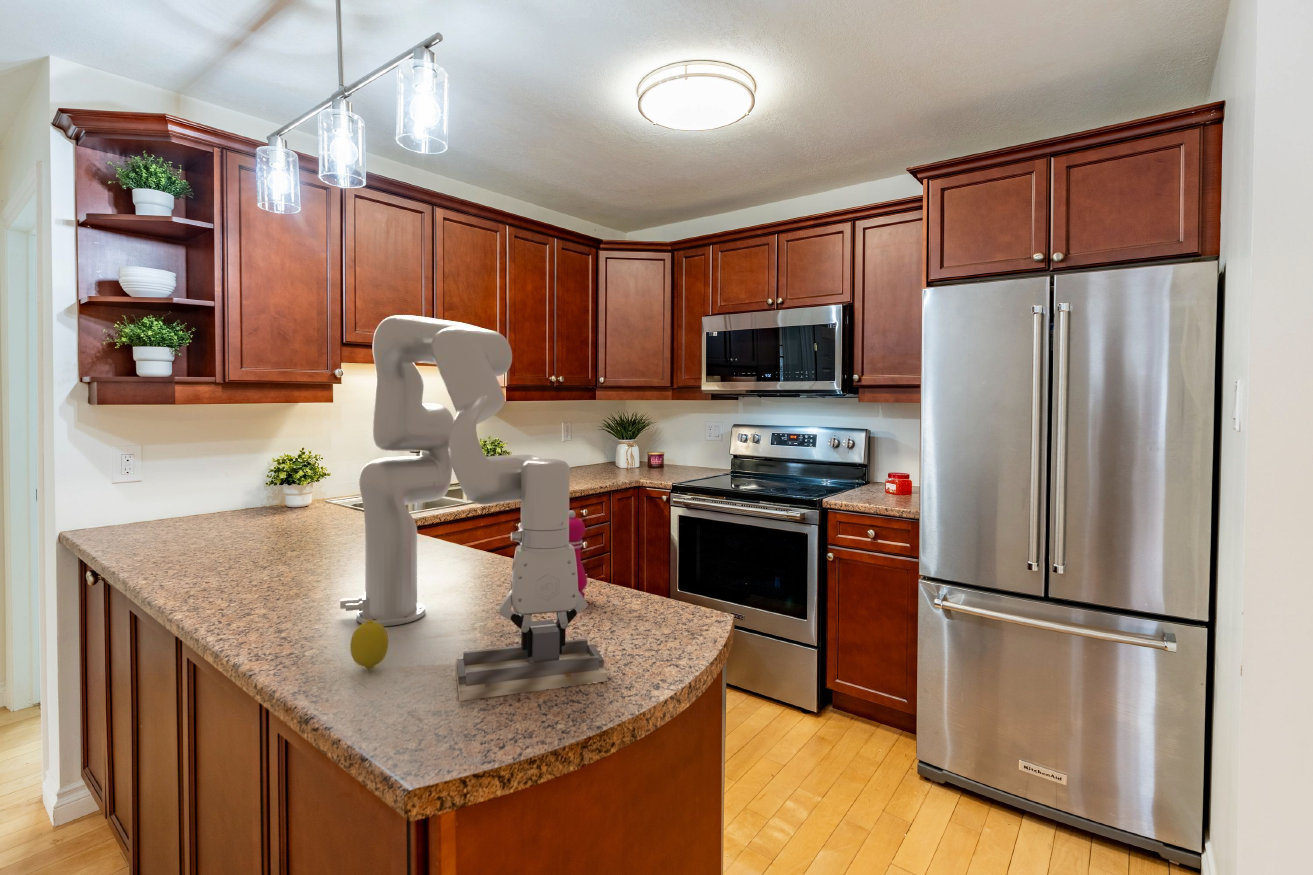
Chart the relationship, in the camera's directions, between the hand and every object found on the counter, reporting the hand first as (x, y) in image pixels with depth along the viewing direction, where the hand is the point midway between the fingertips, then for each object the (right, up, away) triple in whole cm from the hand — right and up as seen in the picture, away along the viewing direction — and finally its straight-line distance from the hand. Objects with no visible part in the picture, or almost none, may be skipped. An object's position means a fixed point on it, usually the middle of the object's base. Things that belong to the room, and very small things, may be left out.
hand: (543, 651), depth 102 cm
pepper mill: (-1, -2, +38) cm, 38 cm away
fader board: (-2, -4, 0) cm, 4 cm away
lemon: (-28, -3, +1) cm, 28 cm away
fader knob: (0, -2, 0) cm, 2 cm away
